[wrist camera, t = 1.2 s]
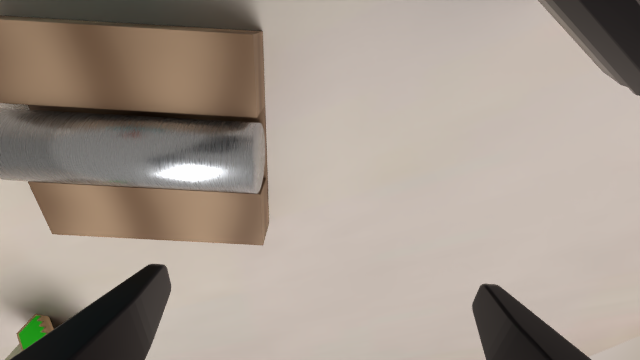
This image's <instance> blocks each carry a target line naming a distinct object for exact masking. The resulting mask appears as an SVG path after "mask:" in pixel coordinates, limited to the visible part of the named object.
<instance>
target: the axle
mask: <svg viewBox="0 0 640 360" xmlns="http://www.w3.org/2000/svg"><path fill="white" fill-rule="evenodd" d="M264 166H265V137H264V130H263V126H262V124H261V123H254V122H236V121H219V120H201V119H183V118H166V117H148V116H131V115H113V114H96V113H78V112H61V111H43V110H25V109H8V108H1V109H0V179H3V180H17V181H35V182H54V183H72V184H91V185H109V186H127V187H146V188H164V189H183V190H201V191H219V192H238V193H256V194H257V193H258V192H259V191H260V188H261V185H262V181H263V175H264Z"/></svg>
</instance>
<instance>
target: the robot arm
mask: <svg viewBox="0 0 640 360" xmlns="http://www.w3.org/2000/svg"><path fill="white" fill-rule="evenodd" d="M538 1H539V2H540V3H541V4H542V5H543V6H544V7H545V9H546V10H547V11H548V12H549V13H550V14H551V15H552V16H553V17H554V18H555V20H556V21H557V22H558V23H559V24H560V25H561V26H562V27H563V28H564V30H565V31H566V32H567V33H568V34H569V35H570V36H571V37H572V38H573V39H574V41H575V42H576V43H577V44H578V45H579V46H580V47H581V48H582V49H583V50H584V52H585V53H586V54H587V55H588V56H589V57H590V58H591V59H592V60H593V62H594V63H595V64H596V65H597V66H598V67H599V68H600V69H601V70H602V71H603V72H604V73H605V74H607V75H608V76H609V77H611V78H612V79H614V80H615V81H616V82H618V83H619V84H620V85H623V86H626V87H628V88H629V89H630V90H631V91H632V92H633V93H634V94H636V95H639V96H640V0H538ZM170 292H171V282H170V278H169V274H168V270H167V267H166V266H165V265H162V264H150V265H148V266H146V267H145V268H143V269H142V270H140V271H139V272H137V273H136V274H134V275H133V276H131V277H130V278H128V279H127V280H125V281H124V282H123V283H121V284H120V285H118V286H117V287H115V288H114V289H112V290H111V291H109V292H108V293H106V294H105V295H103V296H102V297H101V298H99V299H98V300H96V301H95V302H93V303H92V304H90V305H89V306H87V307H86V308H84V309H83V310H81V311H80V312H79V313H77V314H76V315H74V316H73V317H71V318H70V319H68V320H67V321H65V322H64V323H62V324H61V325H59V326H58V327H56V328H55V329H54V330H52V331H51V332H49V333H48V334H46V335H45V336H43V337H42V338H40V339H39V340H37V341H36V342H34V343H33V344H32V345H30V346H29V347H27V348H26V349H24V350H23V351H21V352H20V353H18V354H17V355H15V356H14V357H12V358H11V359H10V360H145V358H146V356H147V354H148V351H149V349H150V347H151V344H152V342H153V339H154V337H155V334H156V331H157V328H158V326H159V323H160V320H161V317H162V314H163V312H164V309H165V306H166V303H167V301H168V298H169V295H170ZM472 309H473V314H474V317H475V321H476V325H477V328H478V332H479V335H480V339H481V343H482V346H483V350H484V354H485V357H486V360H591V359H590V358H589V357H587V356H586V355H585V354H584V353H582V352H581V351H580V350H579V349H577V348H576V347H575V346H574V345H572V344H571V343H570V342H569V341H567V340H566V339H565V338H564V337H562V336H561V335H560V334H559V333H557V332H556V331H555V330H554V329H552V328H551V327H550V326H549V325H547V324H546V323H545V322H544V321H542V320H541V319H540V318H539V317H537V316H536V315H535V314H534V313H532V312H531V311H530V310H529V309H527V308H526V307H525V306H524V305H522V304H521V303H520V302H519V301H517V300H516V299H515V298H514V297H512V296H511V295H510V294H509V293H507V292H506V291H505V290H504V289H502V288H501V287H500V286H498V285H495V284H482V285H481V286H480V288H479V290H478V292H477V294H476V297H475V299H474V301H473V305H472Z"/></svg>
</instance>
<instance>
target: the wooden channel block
mask: <svg viewBox="0 0 640 360" xmlns="http://www.w3.org/2000/svg"><path fill="white" fill-rule="evenodd" d="M0 103H9V104H26V105H28V106H29V108H30V110H43V111H61V112H78V113H96V114H113V115H131V116H148V117H166V118H183V119H201V120H219V121H236V122H254V123H261V124H262V126H263V130H264V137H265V166H264V175H263V181H262V185H261V188H260V191H259V192H258V193H257V194H256V193H238V192H219V191H201V190H183V189H164V188H146V187H127V186H109V185H91V184H72V183H54V182H35V181H28V183H29V185H30V187H31V190H32V192H33V194H34V196H35V198H36V200H37V202H38V205H39V207H40V209H41V211H42V213H43V215H44V217H45V219H46V222H47V224H48V226H49V228H50V230H51V232H52V234H58V235H77V236H96V237H116V238H135V239H154V240H173V241H192V242H211V243H230V244H249V245H263V243H264V240H265V236H266V232H267V229H268V225H269V206H268V176H267V146H266V116H265V86H264V56H263V31H248V30H231V29H215V28H198V27H182V26H165V25H149V24H132V23H116V22H99V21H82V20H66V19H49V18H33V17H16V16H0Z"/></svg>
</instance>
